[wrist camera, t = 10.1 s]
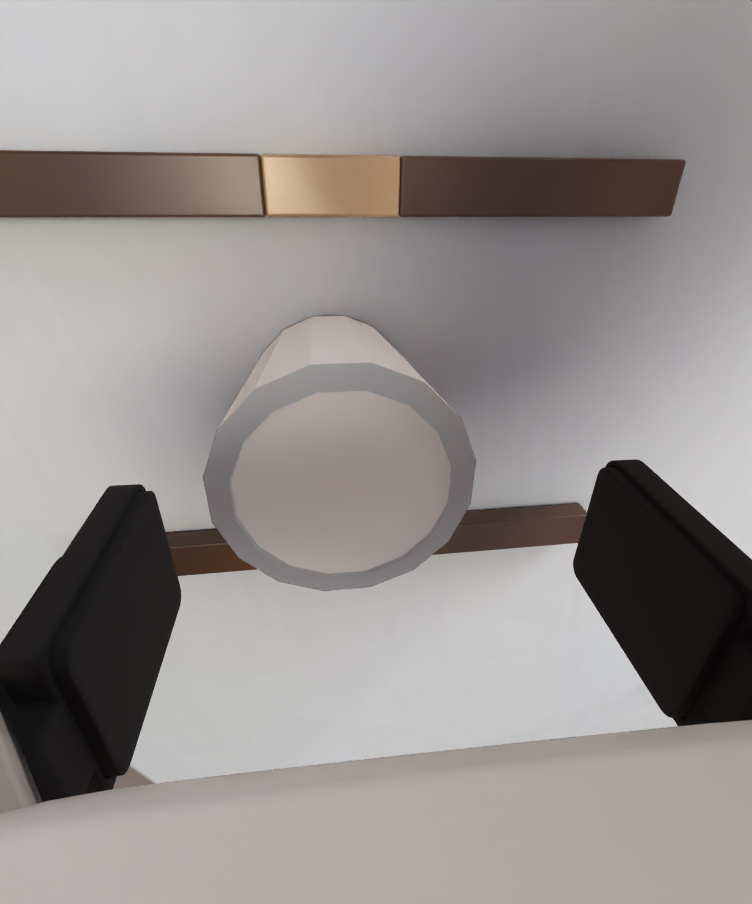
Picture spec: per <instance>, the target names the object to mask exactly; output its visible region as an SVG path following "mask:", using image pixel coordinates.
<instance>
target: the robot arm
mask: <svg viewBox="0 0 752 904" xmlns="http://www.w3.org/2000/svg"><path fill="white" fill-rule="evenodd" d="M573 567H574V572H575V575H576V577H577V579H578V580H579V582H580V583H581V585H582V587H583V588H584V590H585V591H586V593H587V594H588V596H589V597H590V599H591V601H592V602H593V604H594V605H595V607H596V608H597V610H598V612H599V613H600V615H601V616H602V618H603V619H604V621H605V623H606V624H607V626H608V627H609V629H610V630H611V632H612V634H613V635H614V637H615V638H616V640H617V641H618V643H619V645H620V646H621V648H622V649H623V651H624V652H625V654H626V656H627V657H628V659H629V660H630V662H631V663H632V665H633V666H634V668H635V670H636V671H637V673H638V674H639V676H640V677H641V679H642V681H643V682H644V684H645V685H646V687H647V688H648V690H649V692H650V693H651V695H652V696H653V698H654V699H655V701H656V703H657V704H658V706H659V707H660V709H661V710H662V711H663V713H664V714H666V715H667V716H668V717H671V718H673V719H674V720H675V722H676V724H677V725H678V727H668V728H658V729H648V730H639V731H629V732H619V733H609V734H599V735H589V736H579V737H569V738H560V739H550V740H541V741H531V742H522V743H512V744H503V745H493V746H484V747H474V748H465V749H456V750H447V751H437V752H428V753H419V754H409V755H400V756H391V757H382V758H373V759H364V760H355V761H346V762H337V763H328V764H319V765H310V766H301V767H292V768H283V769H275V770H266V771H257V772H248V773H239V774H230V775H221V776H213V777H205V778H198V779H190V780H182V781H175V782H167V783H159V784H151V785H144V786H136V787H128V788H121V789H113V786H114V783H115V780H116V777H117V776H120V775H124V774H125V773H126V772H127V770H128V768H129V766H130V763H131V760H132V757H133V753H134V750H135V747H136V744H137V741H138V738H139V734H140V731H141V728H142V725H143V722H144V718H145V715H146V712H147V709H148V706H149V703H150V699H151V696H152V693H153V690H154V687H155V683H156V680H157V677H158V674H159V671H160V668H161V664H162V661H163V658H164V655H165V652H166V648H167V645H168V642H169V639H170V636H171V632H172V629H173V626H174V623H175V620H176V617H177V613H178V610H179V607H180V602H181V589H180V585H179V581H178V577H177V573H176V570H175V566H174V562H173V559H172V555H171V551H170V548H169V544H168V540H167V537H166V533H165V529H164V525H163V522H162V518H161V514H160V511H159V507H158V503H157V500H156V496H155V494H154V493H153V492H152V491H146V490H145V488H144V487H143V486H142V485H140V484H138V485H118V486H110V487H108V488H107V489H106V491H105V492H104V494H103V495H102V497H101V498H100V500H99V501H98V503H97V504H96V506H95V507H94V509H93V510H92V512H91V514H90V515H89V517H88V518H87V520H86V521H85V523H84V524H83V526H82V527H81V529H80V530H79V532H78V533H77V535H76V536H75V538H74V539H73V541H72V542H71V544H70V545H69V547H68V548H67V550H66V551H65V553H64V555H63V556H62V557H60V558H59V559H58V560H57V561H56V562H55V563H54V565H53V566H52V568H51V569H50V571H49V572H48V574H47V575H46V577H45V578H44V580H43V581H42V583H41V584H40V586H39V587H38V589H37V590H36V592H35V593H34V595H33V596H32V598H31V599H30V601H29V602H28V604H27V605H26V607H25V608H24V610H23V611H22V613H21V614H20V616H19V617H18V619H17V620H16V622H15V623H14V625H13V626H12V628H11V629H10V631H9V632H8V634H7V635H6V637H5V638H4V640H3V641H2V643H1V644H0V904H752V560H751V559H750V558H749V557H748V556H747V555H746V554H745V553H744V552H743V551H741V550H740V549H739V548H738V547H737V546H736V545H735V544H734V543H732V542H731V541H730V540H729V539H728V538H727V537H726V536H725V535H724V534H722V533H721V532H720V531H719V530H718V529H717V528H716V527H715V526H714V525H712V524H711V523H710V522H709V521H708V520H707V519H706V518H705V517H703V516H702V515H701V514H700V513H699V512H698V511H697V510H696V509H695V508H693V507H692V506H691V505H690V504H689V503H688V502H687V501H686V500H685V499H683V498H682V497H681V496H680V495H679V494H678V493H677V492H676V491H674V490H673V489H672V488H671V487H670V486H669V485H668V484H667V483H666V482H664V481H663V480H662V479H661V478H660V477H659V476H658V475H657V474H656V473H654V472H653V471H652V470H651V469H650V468H649V467H648V466H647V465H645V464H644V463H643V462H642V461H640V460H616V461H610V462H609V463H608V464H607V465H606V467H605V468H602V469H601V470H600V471H599V473H598V476H597V480H596V483H595V487H594V490H593V494H592V497H591V501H590V504H589V508H588V511H587V515H586V518H585V522H584V525H583V529H582V532H581V536H580V539H579V543H578V546H577V550H576V553H575V557H574V561H573ZM112 789H113V790H112Z"/></svg>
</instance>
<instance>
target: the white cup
mask: <svg viewBox="0 0 752 904" xmlns="http://www.w3.org/2000/svg"><path fill="white" fill-rule="evenodd" d="M475 464H476V459H475V457H474V454H473V451H472V448H471V445H470V442H469V439H468V437H467V434H466V431H465V428H464V425H463V422H462V419H461V417H460V416H459V415H458V414H457V413H456V412H455V411H454V410H453V409H452V408H451V407H450V406H449V405H448V404H447V403H446V401H445V400H444V399H443V398H442V397H441V396H440V395H439V394H438V393H437V392H436V391H435V390H434V389H433V388H432V387H431V386H430V385H429V384H428V383H427V382H426V381H425V380H424V378H423V377H422V376H421V375H420V374H419V373H418V372H417V371H416V370H415V369H414V368H413V367H412V366H411V365H410V364H409V363H408V362H407V361H406V360H405V359H404V358H403V356H402V355H401V354H400V353H399V352H398V351H397V350H396V349H395V348H394V347H393V346H392V345H391V344H390V343H389V342H388V341H387V340H386V339H385V338H384V337H383V336H382V335H381V334H380V333H379V332H378V331H377V330H376V329H375V328H374V327H372V326H369V325H367V324H364V323H362V322H359V321H356V320H354V319H351V318H349V317H346V316H313V317H311V318H308V319H306V320H304V321H302V322H299V323H297V324H295V325H293V326H291V327H288V328H286V329H284V330H283V331H282V332H281V333H280V335H279V336H278V337H277V338H276V339H275V340H274V341H273V342H272V343H271V344H270V346H269V347H268V348H267V349H266V350H265V351H264V352H263V354H262V356H261V357H260V359H259V361H258V362H257V364H256V366H255V367H254V369H253V371H252V372H251V374H250V376H249V377H248V379H247V381H246V382H245V384H244V386H243V387H242V389H241V391H240V392H239V394H238V396H237V397H236V399H235V401H234V402H233V404H232V406H231V407H230V409H229V411H228V412H227V414H226V416H225V417H224V419H223V421H222V422H221V424H220V426H219V427H218V429H217V432H216V435H215V438H214V442H213V445H212V448H211V452H210V455H209V458H208V462H207V465H206V469H205V472H204V475H203V480H204V485H205V490H206V495H207V500H208V505H209V510H210V515H211V520H212V523H213V524H214V526H215V527H216V528H217V530H218V531H219V532H220V534H221V535H222V536H223V538H224V539H225V540H226V541H227V543H228V544H229V545H230V547H231V548H232V549H233V551H234V552H235V553H236V555H237V556H238V557H239V558H240V559H242V560H243V561H245V562H247V563H248V564H250V565H252V566H253V567H255V568H257V569H258V570H260V571H262V572H263V573H265V574H267V575H268V576H270V577H272V578H274V579H275V580H277V581H279V582H284V583H288V584H293V585H298V586H303V587H307V588H312V589H317V590H322V591H330V590H341V589H352V588H363V587H372V586H374V585H377V584H379V583H382V582H384V581H387V580H389V579H392V578H394V577H397V576H399V575H402V574H404V573H407V572H409V571H412V570H414V569H415V568H416V567H418V566H419V565H420V564H421V563H423V562H424V561H425V560H426V559H427V558H429V557H430V556H431V555H432V554H434V553H435V552H436V551H437V550H438V549H440V548H441V547H442V546H443V545H445V544H446V543H447V542H448V541H449V539H450V538H451V536H452V534H453V533H454V531H455V529H456V528H457V526H458V524H459V523H460V521H461V519H462V518H463V516H464V514H465V512H466V511H467V509H468V507H469V506H470V504H471V496H472V488H473V480H474V472H475Z"/></svg>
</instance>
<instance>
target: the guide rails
mask: <svg viewBox="0 0 752 904" xmlns="http://www.w3.org/2000/svg"><path fill="white" fill-rule="evenodd" d="M684 166H685V160H680V159H605V158H531V157H456V156H401V157H399V156H381V155H306V154H262V155H261V156H260V155H258V154H234V153H159V152H85V151H11V150H0V217H265V216H266V215H267V216H268V217H397V216H400V217H668V216H670V215H671V214H672V210H673V206H674V203H675V199H676V195H677V192H678V188H679V184H680V181H681V177H682V173H683V170H684ZM586 515H587V512H586V511H585V510H584V509H583V508H582V506H581V505H580V504H578V503H575V504H561V505H548V506H534V507H520V508H506V509H493V510H479V511H466V512H465V514H464V516H463V518H462V519H461V521H460V523H459V524H458V526H457V528H456V529H455V531H454V533H453V534H452V536H451V538H450V539H449V541H448V542H447V543H446V544H445V545H443V546H442V547H441V548H440V549H438V550H437V551H436V552H435V553H434V554H432V555H435V554H447V553H460V552H472V551H484V550H496V549H508V548H520V547H532V546H544V545H556V544H569V543H579V539H580V536H581V532H582V529H583V525H584V522H585V518H586ZM166 537H167V540H168V544H169V548H170V551H171V555H172V559H173V562H174V566H175V570H176V573H177V576H183V575H195V574H207V573H219V572H231V571H243V570H256V569H257V568H255V567H253V566H252V565H250V564H248V563H247V562H245V561H243V560H242V559H240V558H239V557H238V556H237V555H236V553H235V552H234V551H233V549H232V548H231V547H230V545H229V544H228V543H227V541H226V540H225V539H224V538H223V536H222V535H221V534H220V532H219V531H218V530H217V529H215V530H202V531H188V532H174V533H166Z"/></svg>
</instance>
